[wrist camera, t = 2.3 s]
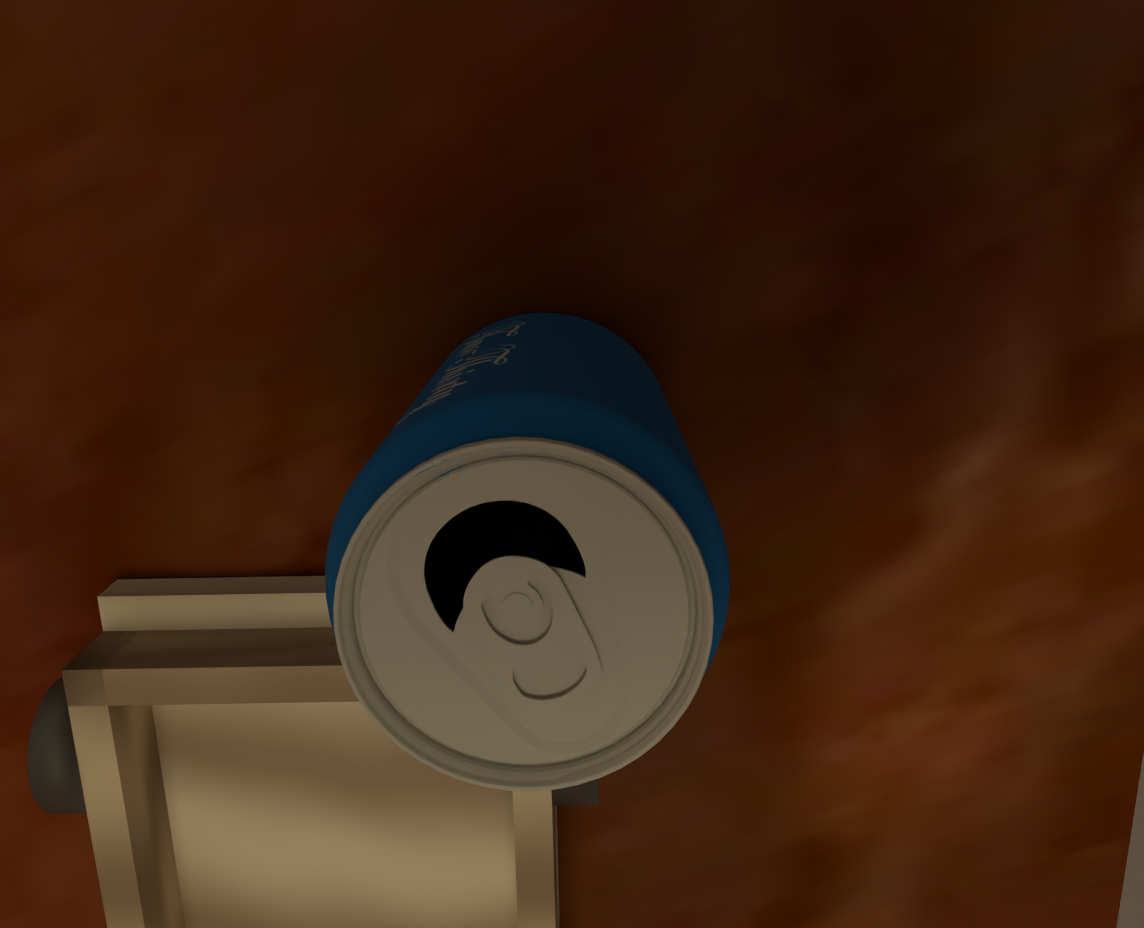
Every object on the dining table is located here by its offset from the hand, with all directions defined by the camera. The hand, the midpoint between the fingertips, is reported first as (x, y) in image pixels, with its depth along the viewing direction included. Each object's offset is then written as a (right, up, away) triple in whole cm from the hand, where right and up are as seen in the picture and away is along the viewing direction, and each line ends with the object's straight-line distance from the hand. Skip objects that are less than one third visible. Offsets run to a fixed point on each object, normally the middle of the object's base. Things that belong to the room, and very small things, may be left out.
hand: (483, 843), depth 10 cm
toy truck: (-5, -10, +20) cm, 23 cm away
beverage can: (0, +5, +16) cm, 17 cm away
